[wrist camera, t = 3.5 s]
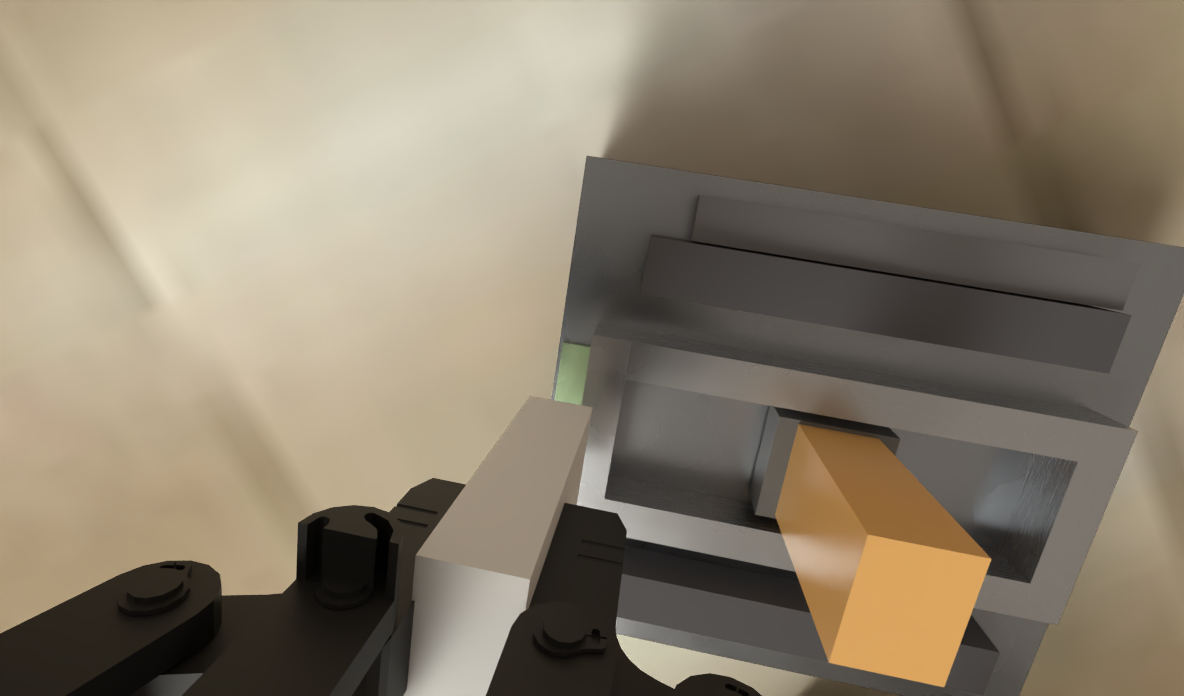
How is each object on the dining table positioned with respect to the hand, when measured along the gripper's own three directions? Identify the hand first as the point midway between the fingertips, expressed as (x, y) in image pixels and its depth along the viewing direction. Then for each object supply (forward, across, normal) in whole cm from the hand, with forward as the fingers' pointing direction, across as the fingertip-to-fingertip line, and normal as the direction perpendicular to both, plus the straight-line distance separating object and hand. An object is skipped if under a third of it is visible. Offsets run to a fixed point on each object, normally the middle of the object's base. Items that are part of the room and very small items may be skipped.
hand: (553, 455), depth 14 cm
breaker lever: (+3, +7, 0) cm, 7 cm away
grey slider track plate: (+3, +7, +1) cm, 8 cm away
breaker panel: (+6, +7, 0) cm, 9 cm away
